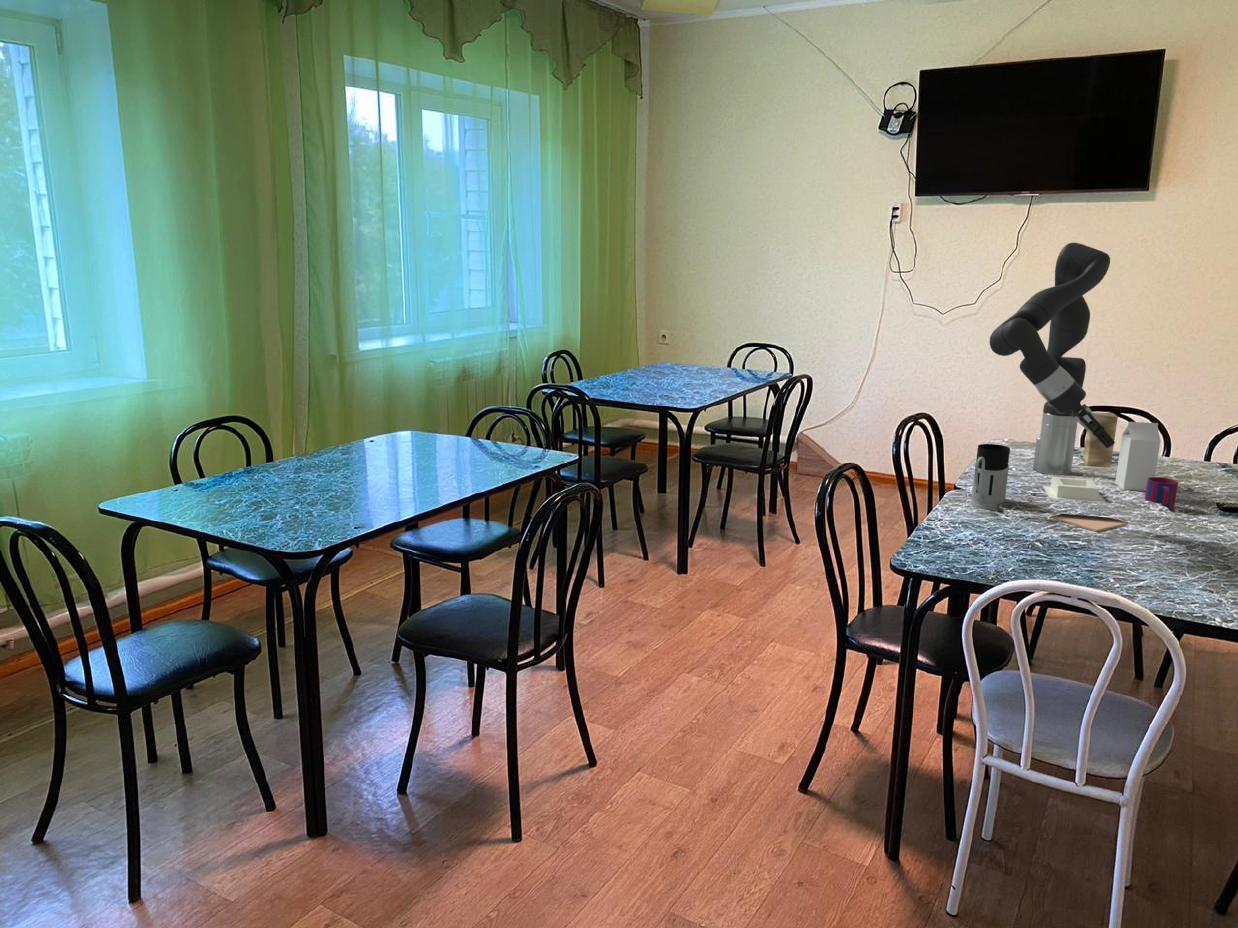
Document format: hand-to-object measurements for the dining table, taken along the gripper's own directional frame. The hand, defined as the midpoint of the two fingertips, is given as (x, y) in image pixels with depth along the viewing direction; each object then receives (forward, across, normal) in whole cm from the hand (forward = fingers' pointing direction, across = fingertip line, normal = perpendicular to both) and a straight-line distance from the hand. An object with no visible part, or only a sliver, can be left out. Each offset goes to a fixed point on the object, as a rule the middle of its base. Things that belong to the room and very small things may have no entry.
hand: (1108, 442), depth 216 cm
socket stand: (+12, +20, +15) cm, 28 cm away
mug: (+27, +18, +1) cm, 32 cm away
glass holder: (-4, +5, +32) cm, 32 cm away
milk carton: (+25, +32, +3) cm, 41 cm away
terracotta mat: (+12, 0, +15) cm, 20 cm away
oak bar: (+2, 0, +5) cm, 6 cm away
